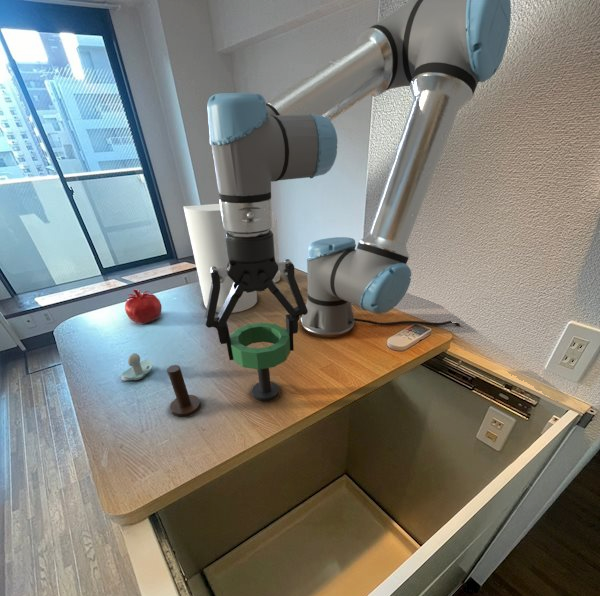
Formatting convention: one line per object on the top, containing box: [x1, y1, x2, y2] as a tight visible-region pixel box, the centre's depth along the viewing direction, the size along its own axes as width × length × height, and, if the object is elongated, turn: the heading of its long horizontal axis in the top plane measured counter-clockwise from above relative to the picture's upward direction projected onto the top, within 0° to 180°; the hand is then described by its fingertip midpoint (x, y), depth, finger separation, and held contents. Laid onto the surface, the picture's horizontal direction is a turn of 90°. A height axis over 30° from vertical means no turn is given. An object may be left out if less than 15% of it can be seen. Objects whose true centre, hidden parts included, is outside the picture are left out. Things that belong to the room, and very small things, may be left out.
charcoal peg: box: [251, 368, 280, 403], centre depth 68 cm, size 6×6×10 cm
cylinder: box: [183, 203, 258, 314], centre depth 98 cm, size 17×17×28 cm
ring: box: [230, 322, 291, 370], centre depth 63 cm, size 11×11×4 cm
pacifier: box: [121, 352, 154, 382], centre depth 75 cm, size 7×6×6 cm
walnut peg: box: [166, 364, 202, 418], centre depth 65 cm, size 6×6×10 cm
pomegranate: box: [124, 288, 163, 325], centre depth 96 cm, size 10×10×9 cm
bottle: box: [270, 211, 281, 284], centre depth 112 cm, size 8×8×30 cm
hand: (261, 351), depth 64 cm, fingers closed on ring, 11 cm apart
